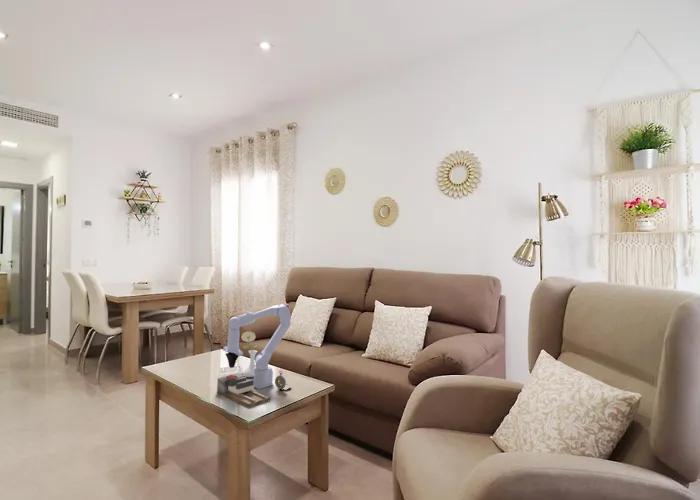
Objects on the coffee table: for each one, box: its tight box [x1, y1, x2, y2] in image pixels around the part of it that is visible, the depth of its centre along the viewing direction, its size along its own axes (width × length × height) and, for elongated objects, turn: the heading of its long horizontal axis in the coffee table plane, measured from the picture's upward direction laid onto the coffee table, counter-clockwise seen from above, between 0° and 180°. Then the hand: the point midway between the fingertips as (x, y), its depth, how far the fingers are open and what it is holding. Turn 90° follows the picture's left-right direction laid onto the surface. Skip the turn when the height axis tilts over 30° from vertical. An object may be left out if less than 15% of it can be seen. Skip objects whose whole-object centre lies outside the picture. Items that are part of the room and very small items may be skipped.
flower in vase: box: [240, 330, 258, 378], centre depth 213 cm, size 13×11×25 cm
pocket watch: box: [274, 370, 290, 390], centre depth 194 cm, size 8×8×10 cm
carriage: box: [228, 376, 255, 394], centre depth 183 cm, size 9×8×4 cm
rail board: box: [216, 372, 271, 408], centre depth 182 cm, size 12×26×7 cm, turn 51°
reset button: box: [227, 374, 236, 379], centre depth 188 cm, size 4×4×4 cm
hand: (231, 367), depth 193 cm, fingers closed
